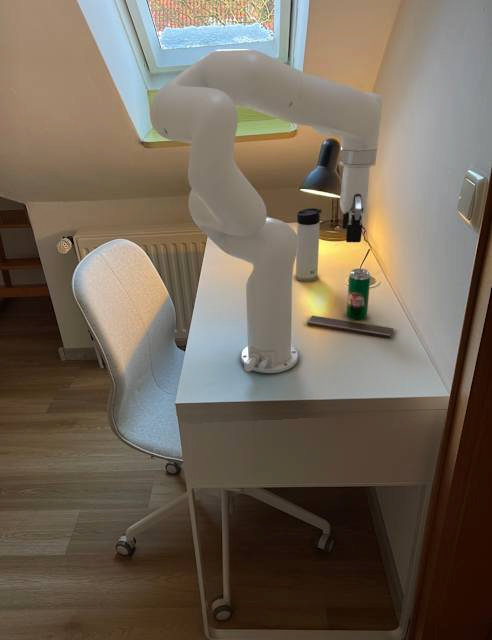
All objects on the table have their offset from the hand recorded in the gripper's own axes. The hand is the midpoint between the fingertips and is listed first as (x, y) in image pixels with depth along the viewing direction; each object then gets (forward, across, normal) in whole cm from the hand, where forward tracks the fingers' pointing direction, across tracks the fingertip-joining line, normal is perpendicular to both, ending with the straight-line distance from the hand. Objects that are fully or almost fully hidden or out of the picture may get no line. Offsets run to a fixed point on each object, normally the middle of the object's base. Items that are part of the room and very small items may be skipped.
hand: (351, 235), depth 126 cm
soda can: (+22, -1, +3) cm, 22 cm away
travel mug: (+21, -26, -8) cm, 34 cm away
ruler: (+22, +5, +1) cm, 22 cm away
